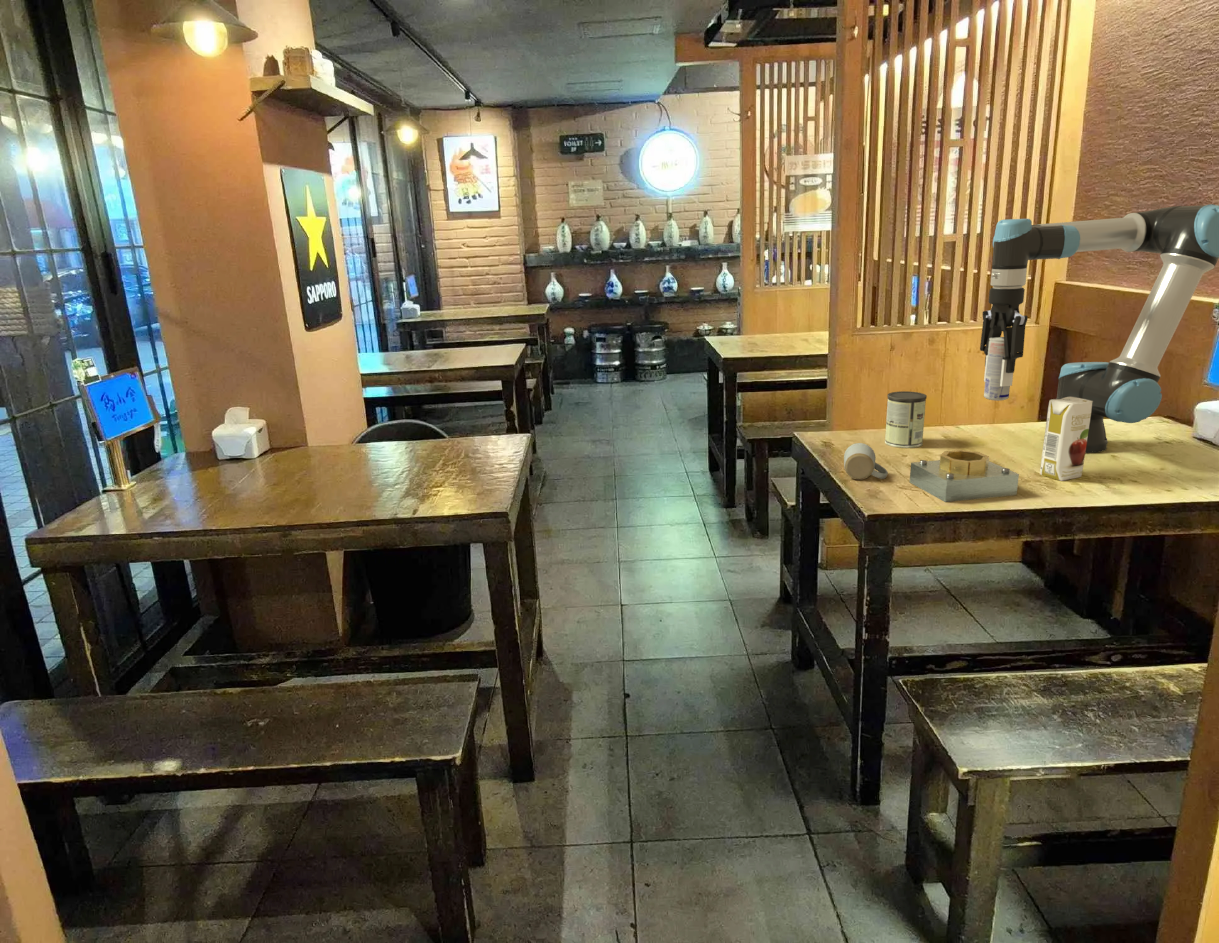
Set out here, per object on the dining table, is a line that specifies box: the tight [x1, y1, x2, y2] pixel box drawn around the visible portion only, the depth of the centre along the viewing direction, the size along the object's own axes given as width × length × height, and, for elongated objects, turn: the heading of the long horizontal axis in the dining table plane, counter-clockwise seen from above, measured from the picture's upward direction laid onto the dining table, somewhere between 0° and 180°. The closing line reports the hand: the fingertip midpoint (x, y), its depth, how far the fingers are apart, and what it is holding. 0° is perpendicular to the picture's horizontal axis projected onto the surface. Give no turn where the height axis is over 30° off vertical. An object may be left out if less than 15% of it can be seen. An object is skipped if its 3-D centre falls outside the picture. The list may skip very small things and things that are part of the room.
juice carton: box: [1039, 396, 1092, 481], centre depth 195 cm, size 8×9×19 cm
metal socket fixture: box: [909, 449, 1020, 503], centre depth 190 cm, size 18×15×8 cm
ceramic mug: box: [843, 442, 889, 480], centre depth 201 cm, size 11×8×8 cm
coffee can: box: [884, 390, 928, 449], centre depth 228 cm, size 10×10×14 cm
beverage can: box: [983, 336, 1011, 402], centre depth 197 cm, size 6×6×15 cm
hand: (997, 383), depth 198 cm, fingers closed on beverage can, 5 cm apart
